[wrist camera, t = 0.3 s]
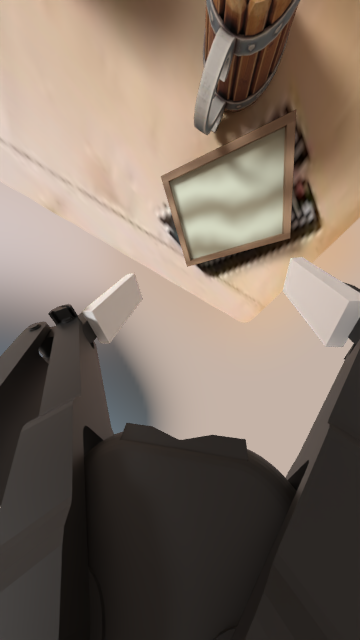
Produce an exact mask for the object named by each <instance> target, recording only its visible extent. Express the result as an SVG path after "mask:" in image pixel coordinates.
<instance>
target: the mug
mask: <svg viewBox="0 0 360 640" xmlns="http://www.w3.org/2000/svg"><path fill="white" fill-rule="evenodd" d="M299 2H300V0H206V26H205V35H204V48H203V62H204V70H203V74H202V78H201V81H200V86H199V90H198V94H197V100H196V105H195V113H194V126H195V127H196V128H197V129H198V130H200V131H201V132H203V133H204V134H206V135H208V134H209V133H210V132H211V131H212V132H214V133H215V132H216V131H217V128H218V126H219V124H220V121H221V118H222V116H223V113H224V110H226V111H227V110H231V112H237V111H240V110H243V109H244V108H245V107H247V106H250V105H251V104H253V103H254V102H255V101H256V100H257V99H258V98H259V97H260V96H261V94H262V93H263V92H264V90H265V89H266V88H267V86H268V85H269V83H270V81H271V80H272V78H273V76H274V74H275V72H276V70H277V67H278V65H279V62H280V60H281V57H282V55H283V52H284V49H285V46H286V43H287V39H288V35H289V30H290V27H291V24H292V21H293V18H294V15H295V12H296V9H297V6H298V4H299Z"/></svg>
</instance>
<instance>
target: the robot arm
mask: <svg viewBox="0 0 360 640" xmlns="http://www.w3.org/2000/svg"><path fill="white" fill-rule="evenodd" d="M283 292H284V293H285V295H286V296H287V297H288V298H289V300H290V301H291V303H292V304H293V305H294V306H295V308H296V309H297V310H298V312H299V313H300V314H301V315H302V317H303V318H304V319H305V321H306V322H307V323H308V324H309V326H310V327H311V328H312V330H313V331H314V332H315V334H316V335H317V336H318V337H319V338H320V340H321V341H322V343H323V344H324V345H325V346H326V347H343V346H344V344H345V343H346V341H347V339H348V338H349V339H350V340H351V341H352V342H354V344H353V346H352V347H351V349H350V350H349V352H348V354H347V355H346V356H345V358H344V359H345V361H344V363H343V365H342V367H341V369H340V371H339V373H338V375H337V377H336V380H335V382H334V384H333V386H332V388H331V390H330V392H329V394H328V396H327V398H326V400H325V402H324V404H323V406H322V408H321V410H320V412H319V414H318V416H317V418H316V421H315V422H314V424H313V427H312V429H311V431H310V433H309V435H308V437H307V439H306V441H305V443H304V445H303V447H302V449H301V451H300V453H299V455H298V457H297V459H296V461H295V462H294V464H293V465H292V467H291V469H290V470H289V472H288V474H287V476H286V478H285V477H284V476H283V475H282V474H281V473H280V472H279V471H278V470H277V469H276V468H275V467H274V466H272V464H270V463H269V462H268V461H266V460H265V459H264V458H262V457H261V456H259V455H257V454H256V453H254V452H252V451H250V450H248V449H247V446H246V440H245V439H238V438H230V437H224V436H217V435H209V436H203V437H197V438H191V439H185V440H178V439H176V438H174V437H172V436H170V435H168V434H166V433H164V432H162V431H160V430H158V429H156V428H154V427H152V426H145V425H138V424H131V423H126V426H125V429H124V431H123V432H120V433H117V434H114V433H113V431H112V428H111V424H110V419H109V413H108V407H107V402H106V397H105V391H104V386H103V380H102V375H101V369H100V364H99V359H98V353H97V348H96V344H95V342H94V340H95V339H96V337H97V338H98V340H99V342H100V343H106V344H110V342H111V341H112V340H113V338H114V337H115V335H116V334H117V333H118V331H119V330H120V329H121V328H122V326H123V325H124V323H125V322H126V321H127V319H128V318H129V317H130V315H131V314H132V312H133V311H134V310H135V309H136V307H137V306H138V304H139V303H140V302H141V300H142V296H141V292H140V289H139V286H138V283H137V280H136V277H135V274H127V275H125V276H124V277H123V278H122V279H121V280H119V281H118V282H117V283H116V284H114V285H113V286H112V287H111V288H110V289H108V290H107V291H106V292H105V293H104V294H102V295H101V296H100V297H99V298H98V299H96V300H95V301H94V302H93V303H91V304H90V305H89V306H88V307H87V308H85V309H84V310H83V311H82V313H81V314H80V315H77V314H76V312H75V311H74V309H73V308H72V306H71V305H62V306H59V307H57V308H55V309H53V310H52V311H50V312H49V315H50V317H51V318H52V319H53V321H54V322H55V323H56V326H54V327H49V325H48V324H47V323H46V322H39V323H35V324H32V325H30V326H29V327H28V328H26V329H25V330H24V331H23V332H22V333H21V334H20V335H19V337H18V338H17V339H16V340H15V341H14V342H13V343H12V344H11V346H9V348H8V349H7V350H6V351H5V352H4V353H3V354H2V355H1V356H0V506H1V508H0V640H360V289H358V288H357V287H355V286H352V285H350V284H347V283H344V282H341V281H339V280H338V279H337V278H335V277H333V276H332V275H330V274H329V273H327V272H325V271H324V270H322V269H320V268H319V267H317V266H316V265H314V264H312V263H311V262H309V261H308V260H306V259H304V258H303V257H298V258H291V259H290V263H289V267H288V271H287V275H286V279H285V284H284V288H283ZM38 350H39V351H40V352H41V354H42V355H43V358H42V357H41V356H40V355H39V351H38Z"/></svg>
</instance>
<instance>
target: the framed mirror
mask: <svg viewBox="0 0 360 640" xmlns="http://www.w3.org/2000/svg"><path fill="white" fill-rule="evenodd" d="M295 126H296V110H294V111H292V112H290V113H288V114H286V115H284V116H282V117H280V118H278V119H276V120H274V121H272V122H270V123H268V124H266V125H264V126H262V127H260V128H258V129H256V130H254V131H252V132H250V133H248V134H246V135H244V136H242V137H240V138H238V139H236V140H234V141H232V142H229V143H227V144H225V145H223V146H221V147H219V148H217V149H215V150H213V151H211V152H209V153H207V154H205V155H203V156H201V157H199V158H197V159H195V160H193V161H191V162H189V163H187V164H185V165H183V166H181V167H179V168H177V169H175V170H173V171H171V172H169V173H167V174H165V175H163V176H161V178H162V182H163V185H164V189H165V192H166V196H167V199H168V202H169V206H170V209H171V213H172V216H173V220H174V223H175V226H176V230H177V233H178V237H179V240H180V243H181V247H182V250H183V254H184V257H185V261H186V264H187V267H188V266H191V265H195V264H198V263H202V262H206V261H209V260H213V259H217V258H220V257H224V256H227V255H231V254H235V253H238V252H242V251H246V250H249V249H253V248H256V247H260V246H264V245H267V244H271V243H274V242H278V241H282V240H285V239H289V238H290V230H291V209H292V188H293V168H294V147H295Z"/></svg>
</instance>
